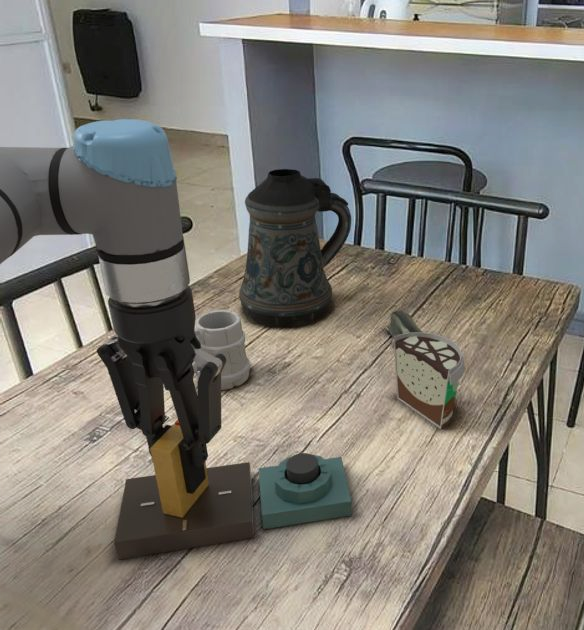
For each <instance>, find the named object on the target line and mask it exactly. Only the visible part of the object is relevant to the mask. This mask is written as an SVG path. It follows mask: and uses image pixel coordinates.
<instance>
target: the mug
mask: <svg viewBox="0 0 584 630" xmlns="http://www.w3.org/2000/svg"><path fill="white" fill-rule="evenodd" d="M241 318H242V317H241V316H240V315H239V314H238V313H237V312H236V311H233V310H226V309H225V310H224V309H218V310H212V311H208V312H205V313H203V314H201V315H200V316H198V317H197V318H196V320H195V335H196V337H197V338H198V340H199V341H200V343H201V349H202V350H204V351H205V352H207V353H209V354H210V355H212V356H214V357H215V356H216V355H217V354H223V355H224V356H225V357H226V364H225V366H224V368H223V370H222V372H221V391H222V390H223V391H225V390H231V389H233V388H234V387H239V386H241V385H243V384H244V383H246V381H247V380H248V379H249V377H250V370H251V362H250V359H249V357H248V356H247V350H246V345H245V343H246V333H245V331H244V330H243V325H242V319H241ZM192 365H193V369H194V375H196V371H197V364H196V363H195V361H194V362H193V363H192Z"/></svg>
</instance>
